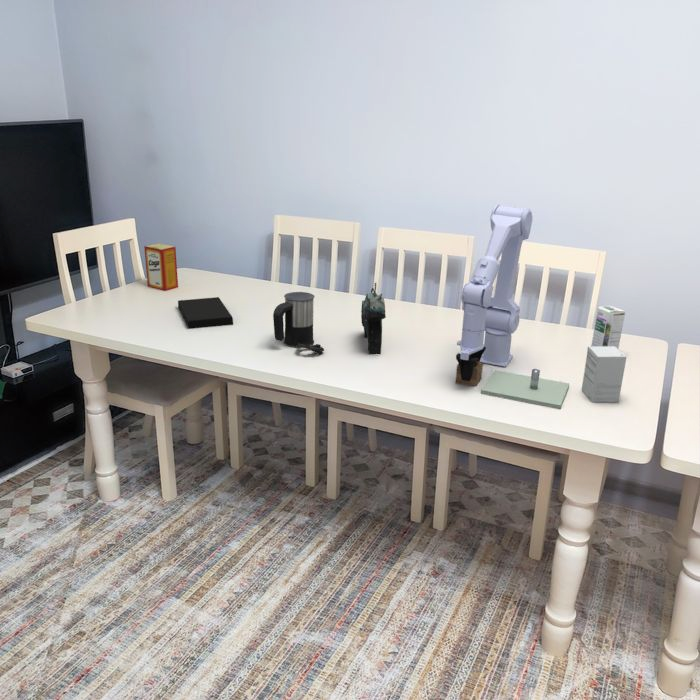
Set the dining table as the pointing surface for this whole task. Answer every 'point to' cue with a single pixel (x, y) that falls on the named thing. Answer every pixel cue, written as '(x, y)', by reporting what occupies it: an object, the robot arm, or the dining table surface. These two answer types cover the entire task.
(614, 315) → the syrup box
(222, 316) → the external hard drive
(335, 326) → the dining table surface
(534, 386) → the grey steel post
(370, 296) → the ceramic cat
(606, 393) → the supplement box
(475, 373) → the walnut collar
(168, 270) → the baking soda box
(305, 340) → the milk frother
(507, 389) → the sage board
